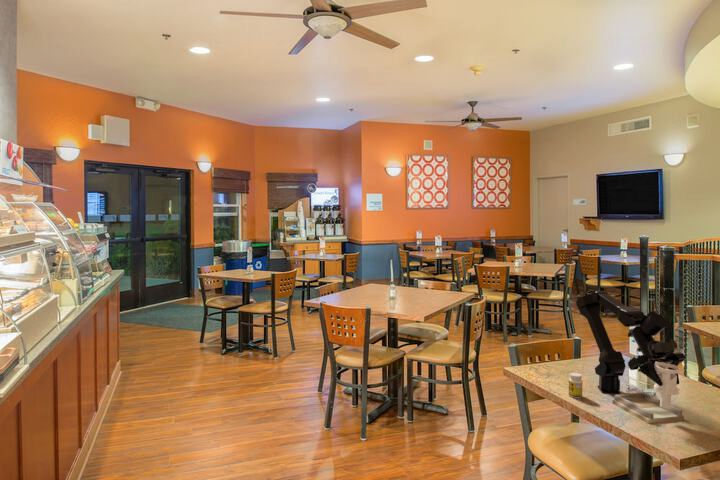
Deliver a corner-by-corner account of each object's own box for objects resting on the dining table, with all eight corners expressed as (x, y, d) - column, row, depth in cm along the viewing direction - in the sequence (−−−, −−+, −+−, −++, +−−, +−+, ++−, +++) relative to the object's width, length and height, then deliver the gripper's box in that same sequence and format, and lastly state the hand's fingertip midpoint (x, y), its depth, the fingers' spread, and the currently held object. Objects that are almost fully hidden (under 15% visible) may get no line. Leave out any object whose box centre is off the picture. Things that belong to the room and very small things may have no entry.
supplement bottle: (566, 393, 189) (566, 372, 188) (577, 393, 189) (578, 372, 189) (572, 398, 184) (573, 376, 183) (584, 398, 184) (585, 376, 184)
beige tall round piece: (652, 400, 169) (654, 358, 168) (676, 404, 166) (679, 361, 165) (653, 408, 163) (656, 364, 162) (678, 412, 160) (681, 368, 158)
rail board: (612, 403, 180) (612, 395, 179) (645, 399, 182) (645, 392, 182) (648, 423, 163) (648, 414, 163) (684, 419, 166) (684, 410, 165)
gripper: (635, 332, 164) (660, 376, 155) (683, 329, 168) (710, 372, 158) (618, 348, 173) (639, 390, 163) (663, 344, 176) (687, 386, 167)
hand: (669, 384), depth 163 cm, fingers closed on beige tall round piece, 6 cm apart
